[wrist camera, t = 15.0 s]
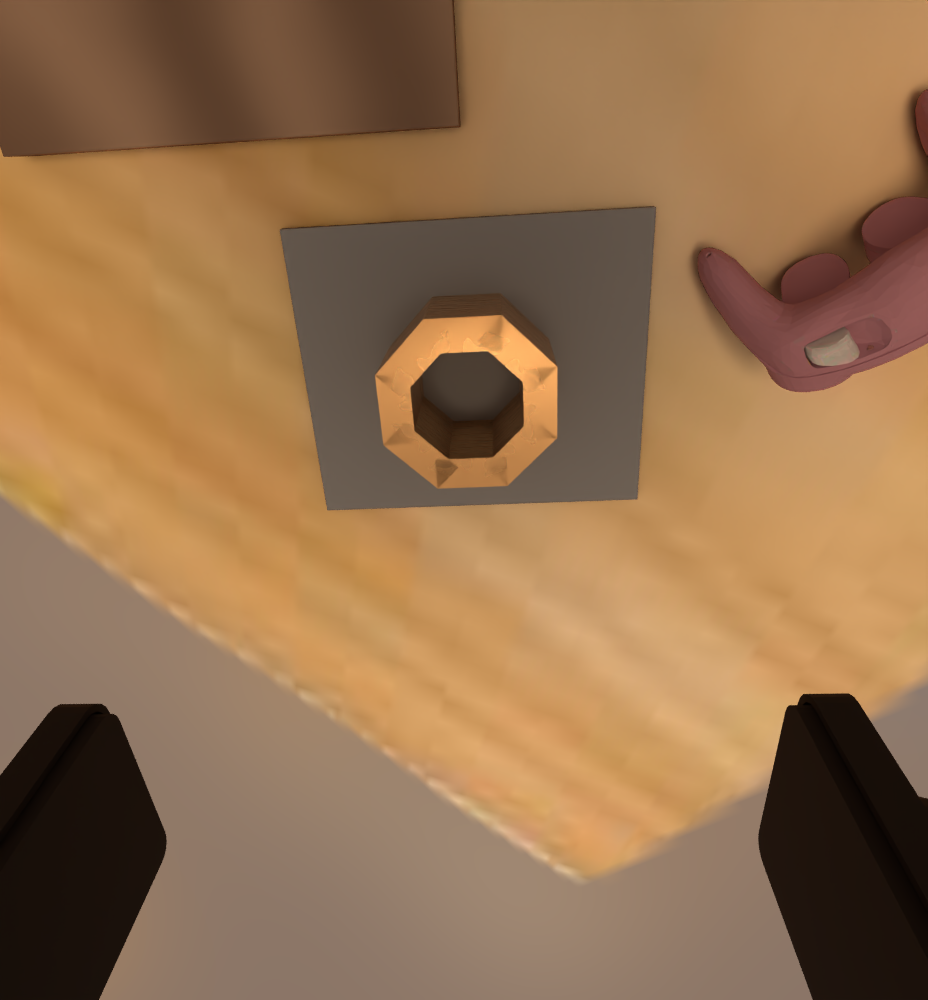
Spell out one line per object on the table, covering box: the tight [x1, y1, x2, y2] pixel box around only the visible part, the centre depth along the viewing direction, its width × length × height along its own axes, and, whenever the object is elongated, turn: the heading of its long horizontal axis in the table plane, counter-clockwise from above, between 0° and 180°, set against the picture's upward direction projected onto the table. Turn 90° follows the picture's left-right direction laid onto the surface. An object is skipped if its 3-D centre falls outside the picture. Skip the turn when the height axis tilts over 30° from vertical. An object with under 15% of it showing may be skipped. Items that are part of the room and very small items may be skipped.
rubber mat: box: [280, 206, 656, 510], centre depth 28 cm, size 14×12×1 cm
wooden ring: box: [375, 293, 557, 489], centre depth 26 cm, size 6×6×4 cm
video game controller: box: [698, 89, 928, 392], centre depth 23 cm, size 10×5×7 cm, turn 128°
